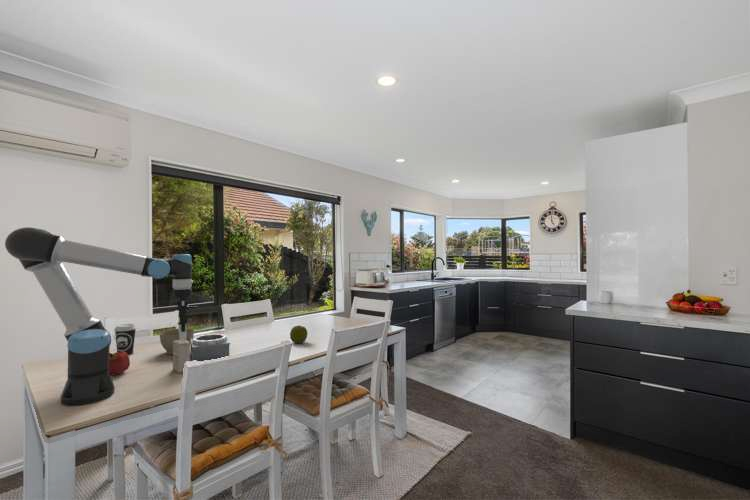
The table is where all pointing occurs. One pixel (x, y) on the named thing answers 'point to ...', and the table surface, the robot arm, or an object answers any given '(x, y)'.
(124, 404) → the table surface
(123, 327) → the coffee cup
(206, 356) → the housing
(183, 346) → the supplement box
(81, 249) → the robot arm
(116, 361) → the vegetable
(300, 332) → the olive green ball
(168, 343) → the planter bowl
